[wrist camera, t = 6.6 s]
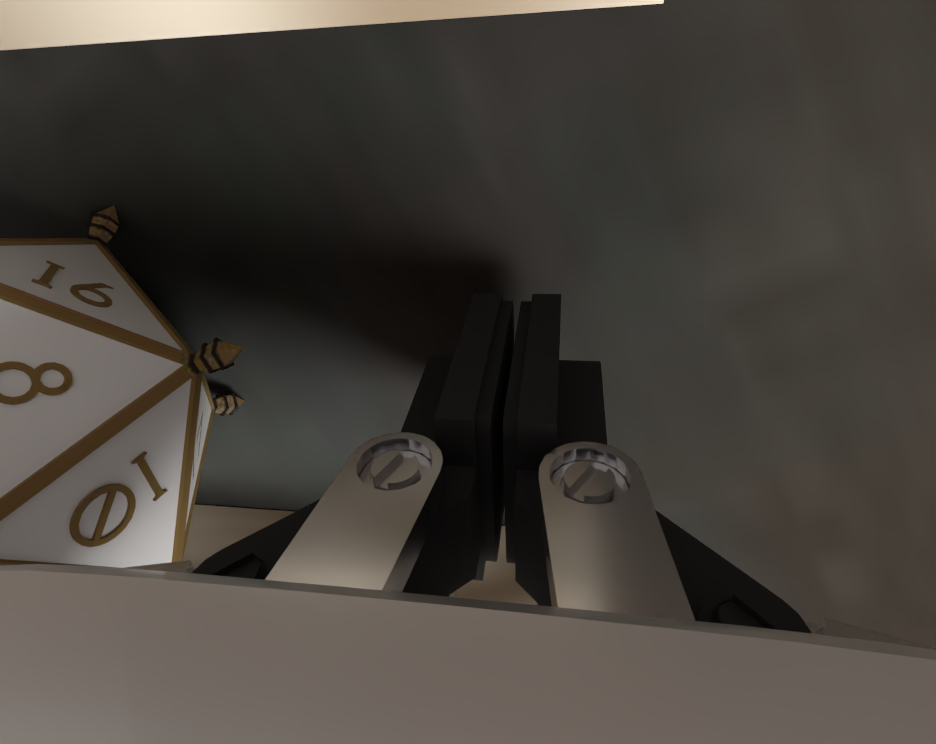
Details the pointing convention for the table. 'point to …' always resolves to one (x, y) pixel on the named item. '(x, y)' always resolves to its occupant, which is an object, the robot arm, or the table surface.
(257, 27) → the chute
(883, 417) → the table surface
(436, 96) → the table surface
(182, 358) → the game die
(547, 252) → the table surface
